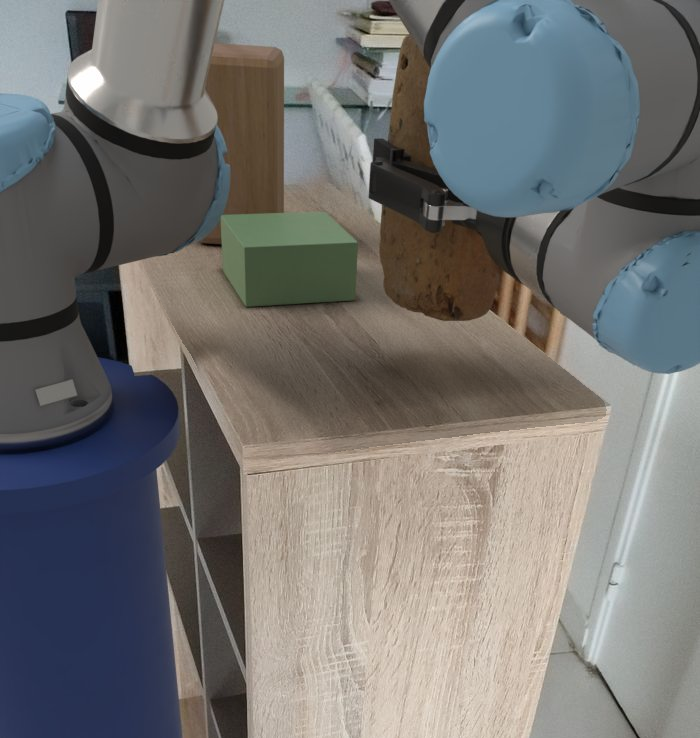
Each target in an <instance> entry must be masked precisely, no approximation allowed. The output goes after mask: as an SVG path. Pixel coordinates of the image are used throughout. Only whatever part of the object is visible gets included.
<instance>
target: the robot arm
mask: <svg viewBox="0 0 700 738" xmlns="http://www.w3.org/2000/svg"><path fill="white" fill-rule="evenodd" d="M388 2H389V3H390V5H391V6H392V8H393V10H394V12H395V13H396V15H397V17H398V18H399V19H400V21H401V23H402V24H403V26H404V28H405V30H406V31H407V32H408V34H410V36H411V37H412V39H413V41H414V42H415V44H416V45H417V47H418V49H419V50H420V52H421V53H422V55H423V57H424V58H425V60H426V62H427V64H428V65H429V67H430V69H431V71H430V74H429V77H428V83H427V89H426V95H425V99H424V121H425V122H426V123H427V130H428V138H429V143H430V147H431V150H430V155H431V158H432V160H433V163H434V165H435V167H436V169H434V168H430V167H427V166H423V165H420V164H416V163H412V162H411V156H410V155H408V154H406V153H405V152H404V149H401V148H397V147H395V146H394V145H392V144H391V143H389V142H388V140H386V139H384V138H378V137H377V138H373V150H372V151H373V152H372V161H371V162H370V163H369V164H370V166H369V178H368V179H369V181H368V197H367V198H368V199H369V200H371V201H373V202H375V203H378V204H379V205H381V206H382V205H384V206H386V207H388V208H390V209H392V210H394V211H396V212H398V213H400V214H402V215H404V216H406V217H408V218H410V219H412V220H414V221H416V222H419V223H420V225H421V226H422V227H423V228H424V229H425V230H426V231H429V232H431V233H436V232H440V231H441V230H442V226H444V225H445V220H452V222H453V223H454V224H457V225H460V226H463V227H466V228H468V229H471V230H475V231H477V232H478V234H479V235H480V236H482V238H483V240H484V243H485V246H486V249H487V251H488V253H489V255H490V257H491V258H492V260H493V261H494V263H495V264H496V265H497V266H498V267H499V268H500V270H502V271H503V272H504V273H506V274H507V275H509V276H510V277H511V278H512V279H514V280H515V281H517V282H518V283H520V284H521V285H522V286H525V287H526V288H528V289H529V290H530V291H532V292H533V293H534V294H537V296H538V297H540V298H542V299H543V300H545V301H546V302H547V303H548V304H549V305H551V307H553V308H554V309H555V310H557V311H558V312H559V314H560V315H561V316H563V317H566V318H567V319H568V320H569V321H571V322H572V323H573V324H575V325H576V326H577V327H578V328H580V329H581V330H583V331H584V332H585V333H587V334H588V335H589V336H590V337H592V338H593V340H595V341H596V342H597V343H598V345H599V347H601V348H603V349H605V350H606V351H607V352H608V353H611V354H614V355H616V356H618V357H619V358H621V359H622V360H624V361H626V362H628V363H629V364H631V365H632V366H636V367H638V368H640V369H641V370H644V371H646V372H648V373H651V374H652V373H653V374H664V375H665V374H666V375H671V374H674V373H680V372H683V371H686V370H689V369H692V368H694V367H696V366H698V365H699V364H700V0H388ZM224 4H225V0H97V8H96V15H95V23H94V30H93V40H92V45H91V46H92V47H91V49H90V50H88V51H85V52H84V53H82V54H80V55H79V56H77V57H75V59H73V60H72V62H71V63H70V64H69V67H68V70H67V75H66V76H67V78H66V87H65V96H64V103H63V108H62V110H61V111H59V112H58V111H57V112H51V111H50V109H49V107H48V105H47V104H46V103H45V102H43V101H42V100H40V99H39V98H37V97H35V96H31V95H26V94H19V93H0V454H22V453H32V452H39V451H45V450H50V449H54V448H58V447H62V446H65V445H69V444H72V443H74V442H77V441H79V440H82V439H84V438H86V437H88V436H90V435H92V434H93V433H95V432H97V431H98V430H100V429H101V428H102V427H103V426H104V425H105V424H106V423H107V422H108V421H109V420H110V418H111V416H112V414H113V410H114V406H113V398H112V390H111V385H110V382H109V381H108V378H107V376H106V374H105V372H104V370H103V368H102V366H101V364H100V362H99V359H98V355H97V353H96V351H95V349H94V347H93V345H92V343H91V341H90V339H89V336H88V334H87V333H86V330H85V328H84V327H83V324H82V322H81V321H82V320H81V318H80V311H79V304H78V298H77V289H76V280H75V278H76V277H78V276H82V275H85V274H89V273H93V272H96V271H97V272H98V271H101V270H105V269H109V268H113V267H114V268H115V267H117V266H121V265H122V266H123V265H125V264H130V263H134V262H139V261H142V260H147V259H152V258H156V257H165V256H168V255H171V254H174V253H177V252H180V251H181V250H183V249H185V248H186V247H190V246H192V245H195V244H197V243H198V242H199V243H200V240H202V239H203V238H205V237H206V236H207V235H208V234H209V233H210V232H211V231H212V230H213V229H214V228H215V226H216V225H217V223H218V222H219V220H220V218H221V216H222V214H223V212H224V209H225V207H226V203H227V200H228V195H229V189H230V165H229V164H225V161H224V155H225V154H226V153H227V148H226V144H225V141H224V138H223V136H222V133H221V131H220V129H219V128H218V126H217V118H218V116H217V111H216V109H215V106H214V104H213V103H212V101H211V99H210V98H209V96H208V94H207V92H206V91H205V85H206V80H207V76H208V71H209V67H210V63H211V58H212V54H213V49H214V45H215V43H216V40H217V35H218V31H219V28H220V22H221V17H222V13H223V8H224Z"/></svg>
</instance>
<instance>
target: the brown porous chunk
mask: <svg viewBox="0 0 700 738" xmlns="http://www.w3.org/2000/svg"><path fill="white" fill-rule="evenodd" d="M400 45H401V46H400V50H399V53H398V60H397V66H396V71H395V78H394V84H393V89H392V90H393V91H392V97H391V109H390V115H389V126H388V133H387V141H388V142H389V143H391V144H392V145H394V146H395V147H397V148H401V149H404V152H405V153H406V154H408V155H410V156H411V162H412V163H416V164H420V165H423V166H427V167H430V168H434V169H436V167H435V165H434V163H433V160H432V158H431V155H430V150H431V147H430V143H429V138H428V130H427V123H426V122H425V121H424V99H425V95H426V89H427V83H428V77H429V74H430V71H431V69H430V67H429V65H428V64H427V62H426V60H425V58H424V57H423V55H422V53H421V52H420V50H419V49H418V47H417V45H416V44H415V42H414V41H413V39H412V37H411V36H410V34H409V33H408V34H406V35H405V36H404V38H403V39H402V42H401V44H400ZM378 250H379V251H378V253H379V260H380V264H381V267H382V272H383V283H382V284H383V290H384V293H385V294H386V296H387V297H388V298H389V299H390V300H391V301H392V302H393V303H394V304H396V305H398V306H399V307H401V308H403V309H406V310H407V311H410V312H413V313H418V314H419V313H420V314H423V316H425V317H428V318H432V319H436V320H439V321H443V322H467V321H474V320H476V319H479V318H482V317H484V316H486V315H487V314H488V312H489V311H490V310H491V309H492V306H493V303H494V300H495V297H496V293H497V290H498V285H499V280H500V271H501V268H499V267H498V266H497V265H496V264H495V263H494V261H493V260H492V258H491V257H490V255H489V253H488V251H487V249H486V246H485V243H484V240H483V238H482V236H480V235H479V234H478V232H477V231H475V230H471V229H468V228H466V227H463V226H460V225H457V224H454V223H453V222H452V220H445V225H444V226H442V230H441V231H440V232H436V233H431V232H429V231H426V230H425V229H424V228H423V227H422V226H421V225H420V223H419V222H416V221H414V220H412V219H410V218H408V217H406V216H404V215H402V214H400V213H398V212H396V211H394V210H392V209H390V208H388V207H386V206H384V205H382V204H381V215H380V227H379V246H378Z"/></svg>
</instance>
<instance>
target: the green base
mask: <svg viewBox="0 0 700 738" xmlns="http://www.w3.org/2000/svg"><path fill="white" fill-rule="evenodd" d="M221 240H222V245H221V259H222V260H221V262H222V272H223V274H224V275H225V276H226V278H227V280H228V281H229V283H230V284H231V286H232V288H233V289H234V291H235V292H236V294H237V296H238V297H239V298H240V300H241V302H242V303H243V305H244V306H245V308H250V307H253V308H254V307H267V306H269V307H270V306H283V305H301V304H315V303H333V302H334V303H335V302H349V301H356V292H357V291H356V290H357V274H358V273H357V271H358V254H359V253H358V251H359V242H358V240H356V238H355V237H353V236H352V235H351V234H350V233H349V232H348V231H347V230H346V229H344V227H342V226H341V225H340V224H339V223H338V222H337V221H336V220H335V219H334V218H333V217H332V216H331V215H330V214H329V213H327V212H326V211H302V212H301V211H299V212H284V213H265V214H234V215H222V216H221Z"/></svg>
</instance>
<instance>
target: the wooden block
mask: <svg viewBox="0 0 700 738" xmlns="http://www.w3.org/2000/svg"><path fill="white" fill-rule="evenodd" d="M205 91H206V92H207V94H208V96H209V98H210V99H211V101H212V103H213V104H214V106H215V109H216V111H217V116H218V118H217V126H218V128H219V129H220V131H221V133H222V136H223V138H224V141H225V144H226V148H227V153H226V154H225V155H224V161H225V164H229V165H230V189H229V195H228V200H227V203H226V207H225V209H224V212H223V214H222V215H234V214H265V213H285V198H284V197H285V55H284V53H283V50H282V49H280V48H278V47H277V46H266V45H251V44H233V43H219V42H217V43H216V42H215V45H214V49H213V54H212V58H211V63H210V67H209V71H208V76H207V80H206V85H205ZM199 243H202V244H206V245H218V246H219V245H221V246H222V240H221V218H220V220H219V222H218V223H217V225H216V226H215V228H214V229H213V230H212V231H211V232H210V233H209V234H208V235H207V236H206V237H205V238H203V239H202V240H200V241H199Z"/></svg>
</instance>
